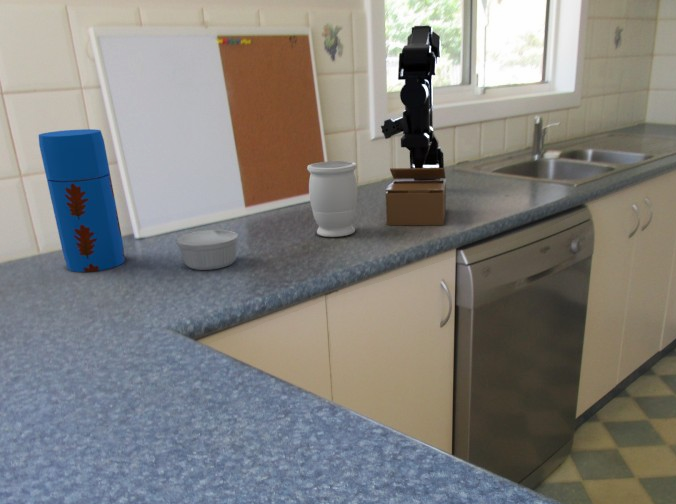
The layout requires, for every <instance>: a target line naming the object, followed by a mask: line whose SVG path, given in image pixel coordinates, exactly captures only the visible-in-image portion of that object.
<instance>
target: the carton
mask: <svg viewBox="0 0 676 504" xmlns="http://www.w3.org/2000/svg"><path fill="white" fill-rule="evenodd" d="M446 180H447V179H444V180H443V179H440V180H416V181H414V180H393V181H392V183H389V184H388V186H387V187H386V189H385V207H386V208H385V210H386V211H385V212H386V226H444V222H445V218H446V212H447V181H446ZM408 191H430V193H408Z"/></svg>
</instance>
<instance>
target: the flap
mask: <svg viewBox="0 0 676 504" xmlns="http://www.w3.org/2000/svg"><path fill="white" fill-rule="evenodd" d="M389 171H390V173H391V176H392V179H393V180H414V179H438V178H440V179H446V177H447V176H446V171H445V167H444V168H410V167H404V168H403V167H399V168H398V167H397V168H395V167H394V168H393V167H392V168H391V167H390V168H389Z"/></svg>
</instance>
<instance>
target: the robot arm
mask: <svg viewBox="0 0 676 504" xmlns="http://www.w3.org/2000/svg"><path fill="white" fill-rule="evenodd" d="M406 40H407V41H406V43H407V44H406V45H404V46H403V47H402V49H401V52H399V53H398V68H397V69H398V72H397V80H398V81H401V80H402V81H403V80H404V85H403V86H402V87H401V89H400V92H399V98H400V102H401V103H402V105H403V106H404V110H403V112H402V116H401V117H398V118H395V119H393V118H392V117H390V118H388V119H384V120H383V124H381V125H380V129H381V134H383V136H384V139H385V140H388V139H390V138H391V137H393V136H395V135H398V134H400V133H402V134H403V136H402V137H400V148H406V149H407V150H408V151H409V168H444V169H445V163H444V160H445V159H444V152H443V151H442V150H443V149H442V147H440V145H439V143H440V142H439V140H438V138H437V136H436V134H435V132H434V115H433V114H434V111H433V110H434V109H433V108H434V103H433V101H434V100H433V99H434V98H433V93H434V92H433V78H434V76H436V70H437V68H438V66H439V58H441V57H442V44H441V36H440V35H439V34H438V33H436V32H434V30H433V26H430V24H429V25H427V24H426V25H414V26H411V33H410V34H409V35H408V36H407V39H406ZM416 180H441V178H438V179H413V181H416Z"/></svg>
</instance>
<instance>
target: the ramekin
mask: <svg viewBox="0 0 676 504" xmlns="http://www.w3.org/2000/svg"><path fill="white" fill-rule="evenodd" d="M238 242H239V235H238V233H237V232H234V231H231V230H227V229H206V230H198V231H193V232H189V233H186V234H183V235H181V236H179V237H178V238H177V239H176V245H177V247H178V248H179V252H180V254H181V257H182V260H183V263H184V264H185V266H187V267H188V268H189V269H191V270H195V271H212V270H219V269H222V268H223V269H224V268H226V267H229V266H231V265H232V264H234V262H235V261H236V260H237V256H238V255H237V253H238Z"/></svg>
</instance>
